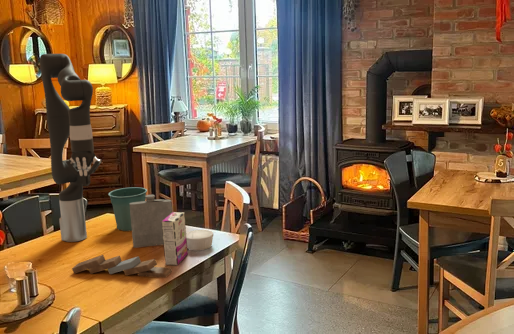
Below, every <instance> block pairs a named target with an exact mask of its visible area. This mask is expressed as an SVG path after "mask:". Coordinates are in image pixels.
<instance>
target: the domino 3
mask: <svg viewBox="0 0 514 334" xmlns="http://www.w3.org/2000/svg"><path fill="white" fill-rule="evenodd" d="M140 262H142V261H141V259H140V257H139V256H134V257H132V258H129V259H125V260H122V261H121V262H120V263H119V264H118V265H117V266H115V267H112V268H109V269H107V271H108V274H109V275H113V274H115V273H118V272H119V273H120V272H122V271H123V272H124V270H126V269H130V268H133V267H135V266H136V265H137V264H138V263H140Z"/></svg>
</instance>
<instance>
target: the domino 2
mask: <svg viewBox="0 0 514 334" xmlns="http://www.w3.org/2000/svg"><path fill="white" fill-rule="evenodd" d="M122 261H123V260H122V257H121V255H117V256H115V257H110V258H107V259H105V261H103V262H102V263H101V264H100V265H98V266H95V267H92V268H90V269H88V271H89V274H90V275H92V274H96V273H99V272H102V271H105V270H108V269H109V268H112V267H115V266H117V265H118V264H119V263H120V262H122Z"/></svg>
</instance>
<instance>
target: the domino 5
mask: <svg viewBox="0 0 514 334" xmlns="http://www.w3.org/2000/svg"><path fill="white" fill-rule="evenodd" d="M171 272H172V267H163V266H162V267H161V266H160V267H158V266H154V267H153V268H152V269H151V270H149V271H144V272H140V273H137V276H138V277H150V278H167V277H168V276H169V275H170V274H171Z"/></svg>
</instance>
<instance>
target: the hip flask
mask: <svg viewBox="0 0 514 334" xmlns="http://www.w3.org/2000/svg"><path fill="white" fill-rule="evenodd" d="M155 197H156V196H155V194H146V196H145V198H146V200H145V201H141V202H133V203H130V215H131V227H132V231H131V237H132V247H133V248H134V249H136V248H145V247H154V246H164V241H163V231H162V221H163V220H164V219H165V218H166V217H168V216H169V215H170V214H171V213H172V212H173V207H172V200H171V199H163V198H162V199H155Z"/></svg>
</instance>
